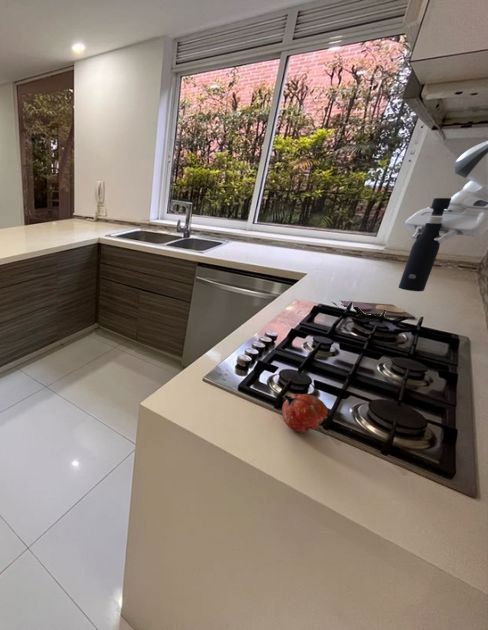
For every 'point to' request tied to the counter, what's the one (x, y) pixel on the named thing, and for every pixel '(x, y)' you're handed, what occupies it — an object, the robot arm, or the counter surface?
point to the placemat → (387, 310)
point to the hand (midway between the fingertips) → (425, 240)
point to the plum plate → (358, 305)
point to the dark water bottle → (424, 250)
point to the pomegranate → (303, 412)
